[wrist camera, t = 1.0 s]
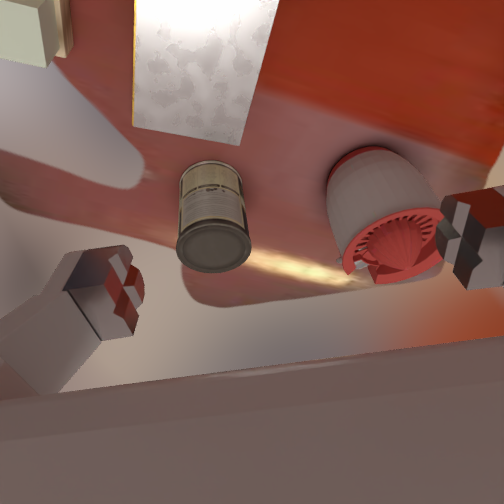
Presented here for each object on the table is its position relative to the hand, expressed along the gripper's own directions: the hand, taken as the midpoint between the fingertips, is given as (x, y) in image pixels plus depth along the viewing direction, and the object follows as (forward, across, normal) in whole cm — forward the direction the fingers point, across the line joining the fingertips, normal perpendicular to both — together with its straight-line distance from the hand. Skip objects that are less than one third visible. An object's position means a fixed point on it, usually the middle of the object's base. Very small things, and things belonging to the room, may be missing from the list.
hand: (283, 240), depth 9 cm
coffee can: (+45, +9, +20) cm, 50 cm away
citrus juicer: (+46, -16, +24) cm, 54 cm away
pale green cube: (+35, +21, -6) cm, 41 cm away
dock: (+40, +4, -3) cm, 40 cm away
